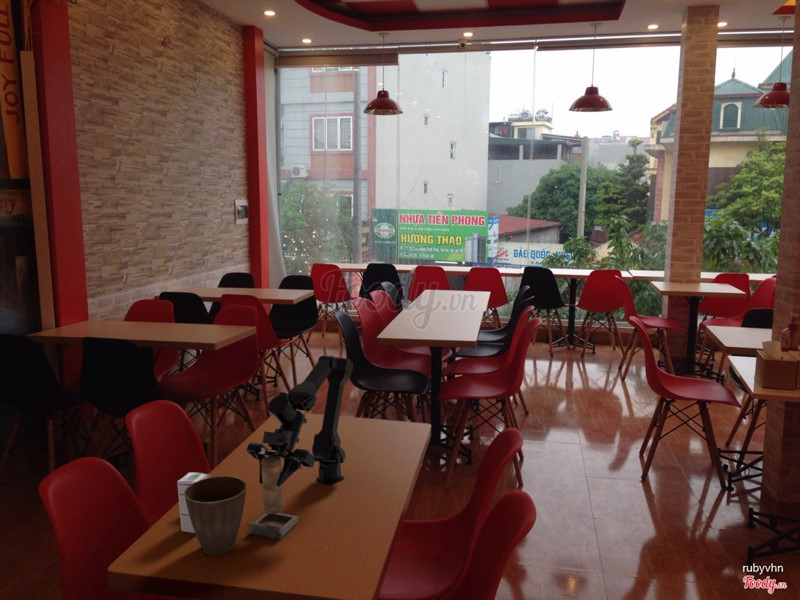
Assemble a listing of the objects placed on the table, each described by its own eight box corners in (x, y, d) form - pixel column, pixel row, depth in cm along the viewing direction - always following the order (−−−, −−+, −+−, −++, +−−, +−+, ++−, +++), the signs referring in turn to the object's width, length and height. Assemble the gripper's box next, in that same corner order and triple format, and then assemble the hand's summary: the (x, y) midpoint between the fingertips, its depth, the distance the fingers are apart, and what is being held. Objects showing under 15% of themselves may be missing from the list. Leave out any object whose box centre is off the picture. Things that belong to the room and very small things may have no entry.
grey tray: (268, 517, 174) (268, 507, 174) (298, 523, 171) (297, 512, 171) (248, 534, 166) (248, 523, 165) (279, 540, 162) (279, 529, 162)
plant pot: (259, 536, 164) (256, 478, 162) (231, 567, 150) (228, 504, 148) (207, 530, 168) (204, 473, 166) (176, 560, 153) (172, 499, 151)
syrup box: (200, 533, 166) (197, 481, 164) (180, 531, 167) (176, 480, 165) (211, 523, 172) (208, 473, 170) (191, 521, 173) (188, 471, 171)
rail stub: (280, 503, 171) (278, 454, 169) (284, 511, 166) (282, 461, 164) (262, 507, 169) (259, 458, 167) (265, 515, 164) (263, 465, 162)
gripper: (247, 414, 171) (225, 468, 162) (307, 421, 164) (287, 478, 156) (265, 432, 179) (244, 484, 171) (323, 439, 173) (304, 494, 164)
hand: (269, 485), depth 165 cm, fingers closed on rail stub, 5 cm apart
